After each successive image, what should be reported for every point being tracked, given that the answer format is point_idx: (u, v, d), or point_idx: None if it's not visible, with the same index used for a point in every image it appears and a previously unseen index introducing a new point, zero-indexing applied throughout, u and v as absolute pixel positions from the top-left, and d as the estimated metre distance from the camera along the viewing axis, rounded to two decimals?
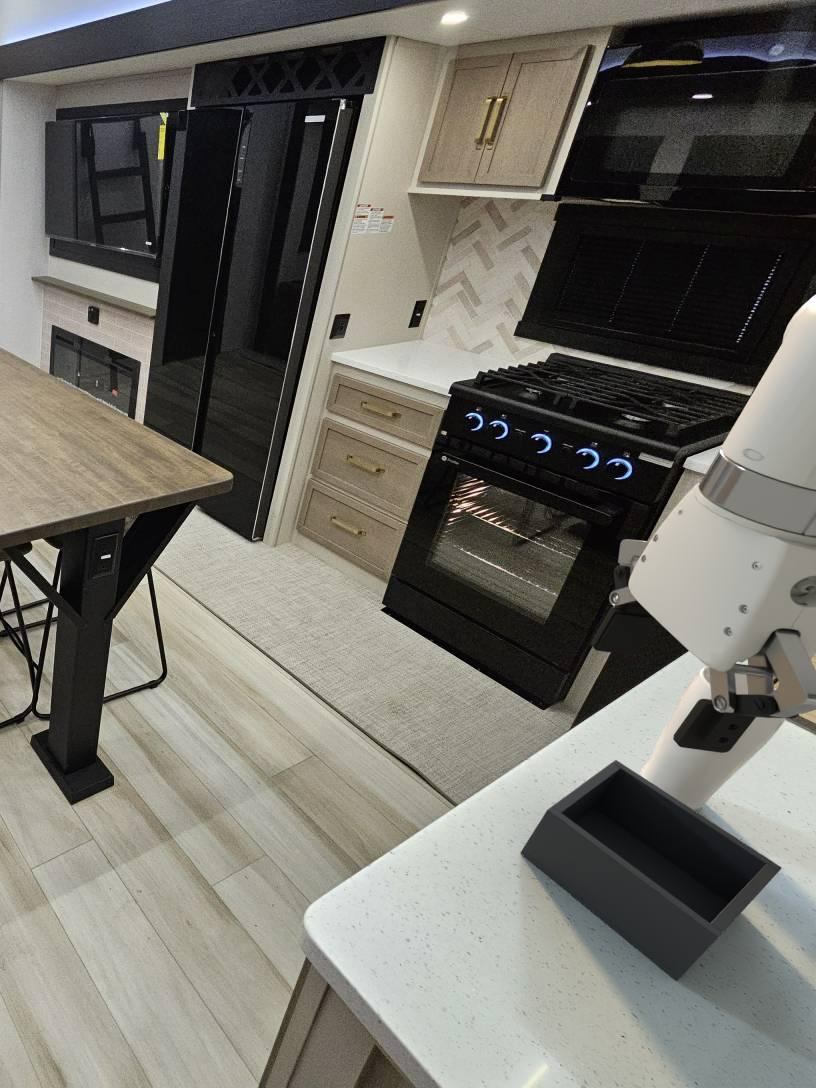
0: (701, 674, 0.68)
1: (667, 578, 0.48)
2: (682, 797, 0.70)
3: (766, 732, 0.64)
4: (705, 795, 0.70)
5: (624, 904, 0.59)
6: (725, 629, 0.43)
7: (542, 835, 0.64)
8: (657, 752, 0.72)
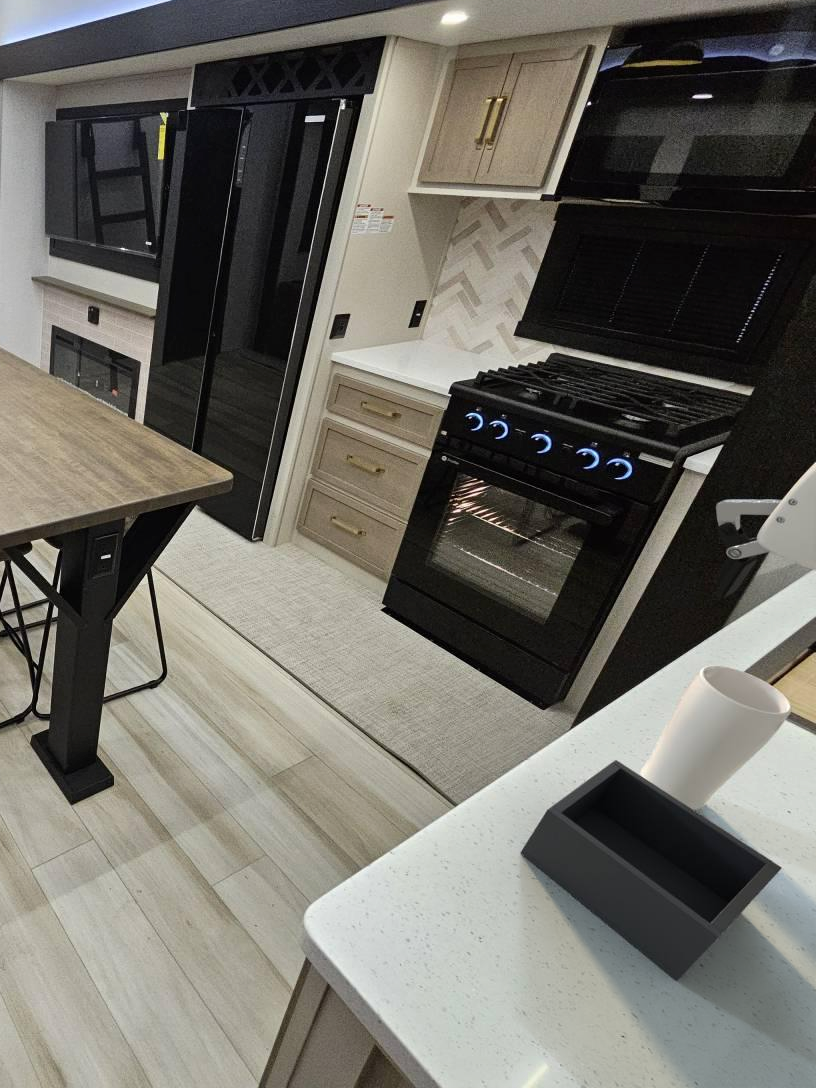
0: (701, 674, 0.68)
1: None
2: (682, 797, 0.70)
3: (766, 732, 0.64)
4: (705, 795, 0.70)
5: (624, 904, 0.59)
6: None
7: (542, 835, 0.64)
8: (657, 752, 0.72)
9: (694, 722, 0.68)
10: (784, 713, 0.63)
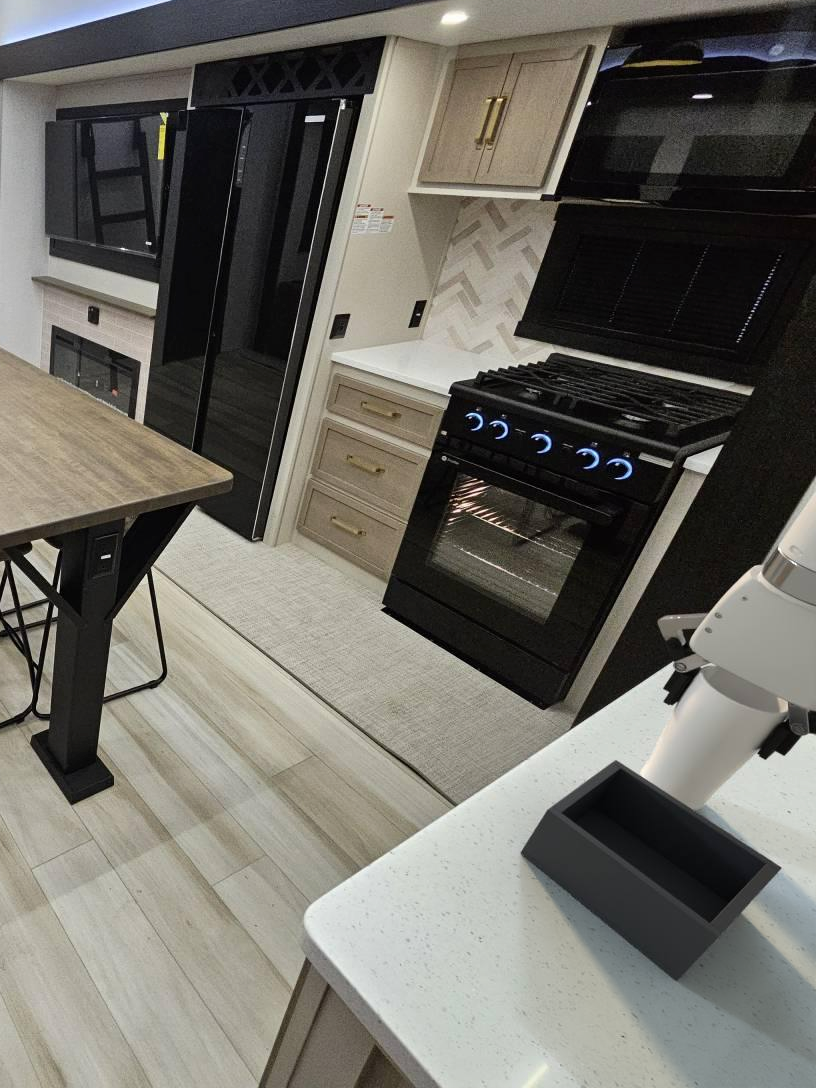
0: (701, 674, 0.68)
1: (746, 647, 0.64)
2: (682, 797, 0.70)
3: (766, 732, 0.64)
4: (705, 795, 0.70)
5: (624, 904, 0.59)
6: None
7: (542, 835, 0.64)
8: (657, 752, 0.72)
9: (694, 722, 0.68)
10: (784, 713, 0.63)
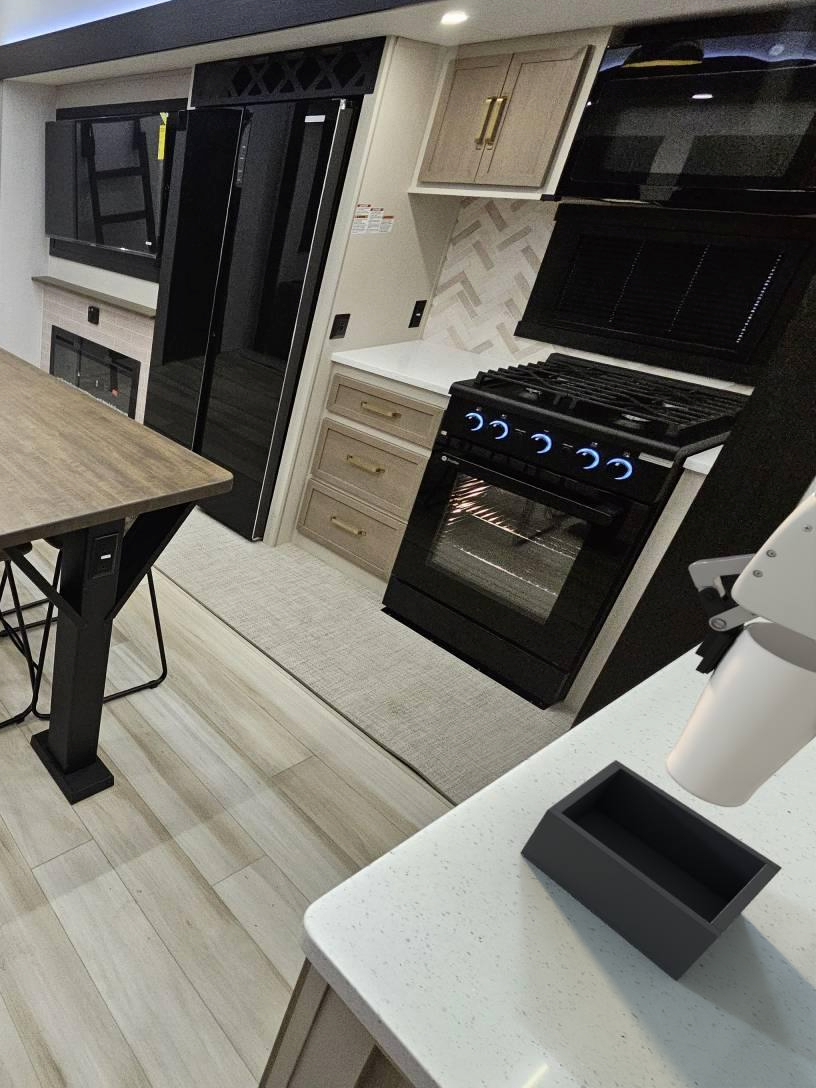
0: (746, 632, 0.53)
1: (809, 593, 0.49)
2: (720, 791, 0.55)
3: None
4: (750, 788, 0.54)
5: (624, 904, 0.59)
6: None
7: (542, 835, 0.64)
8: (687, 734, 0.57)
9: (737, 694, 0.52)
10: None
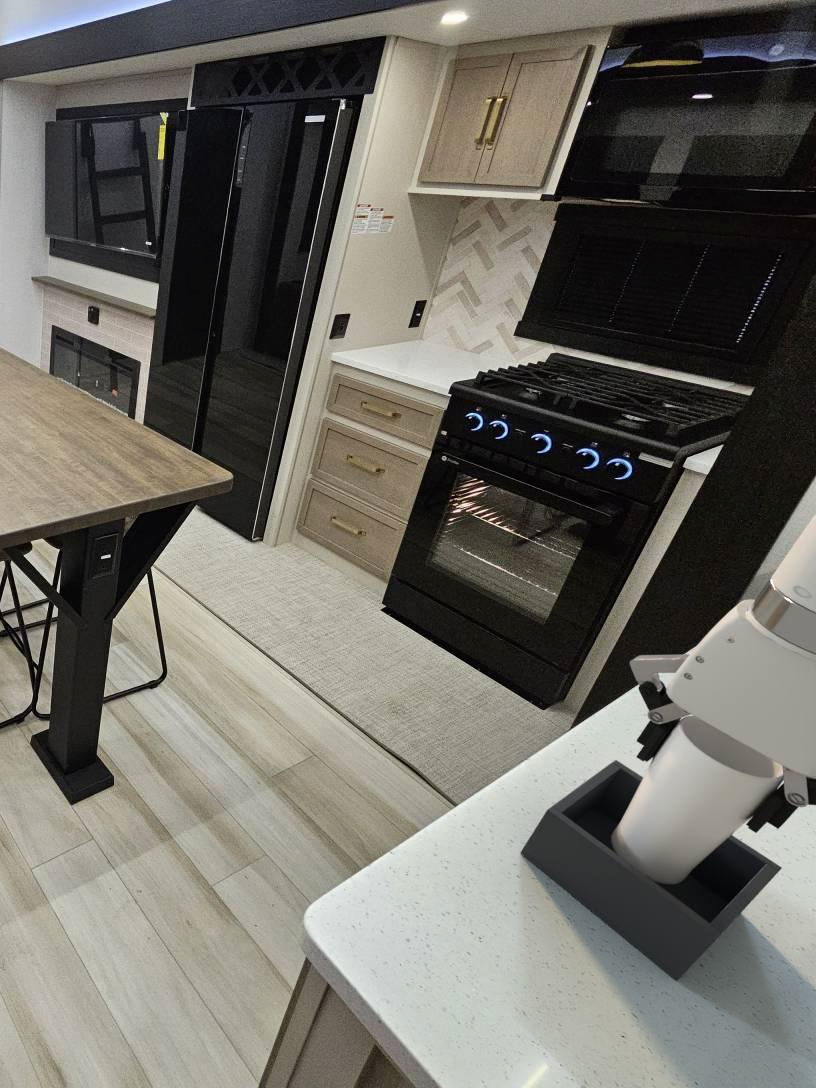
0: (680, 727, 0.57)
1: (732, 699, 0.53)
2: (659, 870, 0.60)
3: (756, 800, 0.53)
4: (685, 868, 0.59)
5: (624, 904, 0.59)
6: None
7: (542, 835, 0.64)
8: (630, 815, 0.61)
9: (672, 784, 0.57)
10: (778, 778, 0.53)
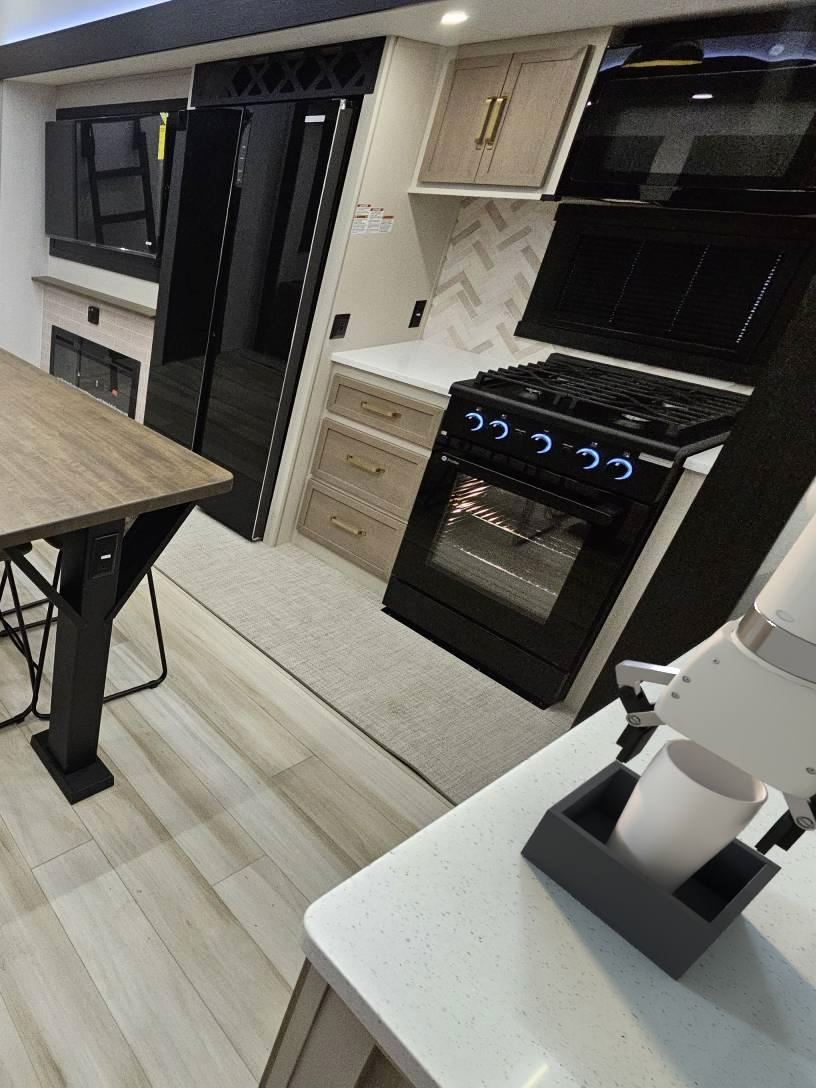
0: (664, 750, 0.58)
1: (718, 718, 0.54)
2: None
3: (738, 823, 0.55)
4: (670, 888, 0.60)
5: (624, 904, 0.59)
6: (807, 768, 0.50)
7: (542, 835, 0.64)
8: (616, 835, 0.63)
9: (656, 806, 0.58)
10: (759, 802, 0.54)
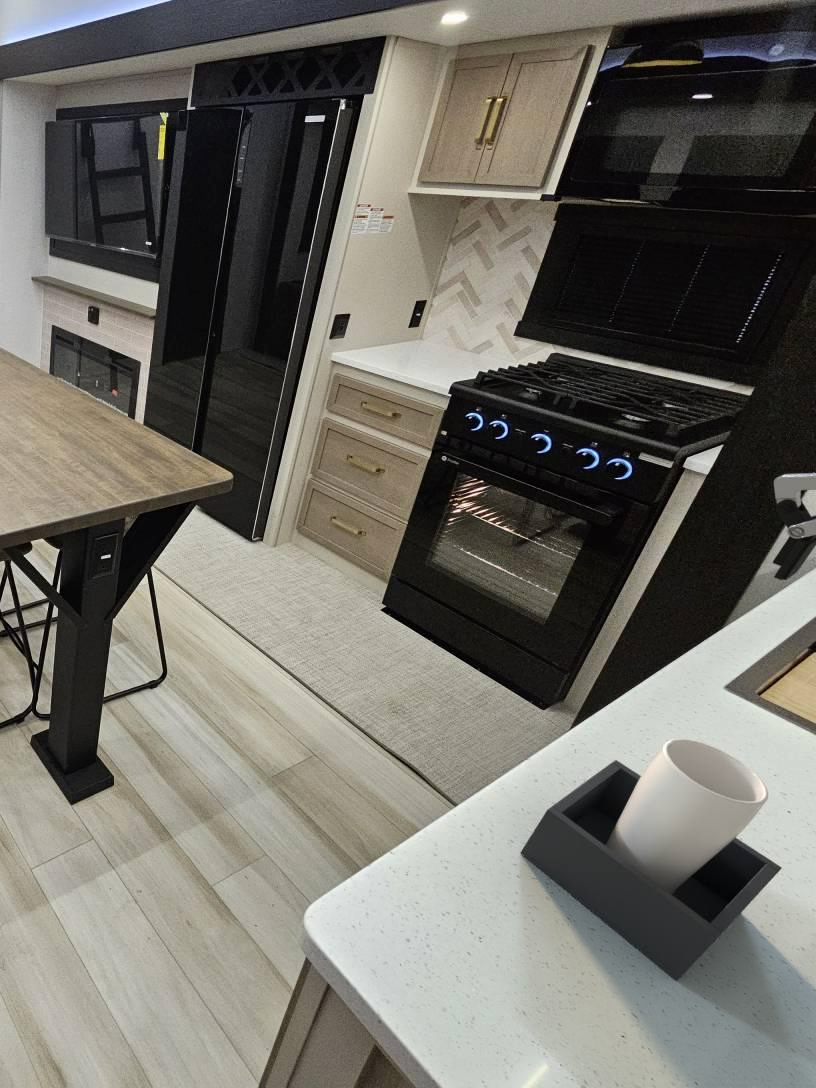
0: (664, 750, 0.58)
1: None
2: None
3: (738, 823, 0.55)
4: (670, 888, 0.60)
5: (624, 904, 0.59)
6: None
7: (542, 835, 0.64)
8: (616, 835, 0.63)
9: (656, 806, 0.58)
10: (759, 802, 0.54)
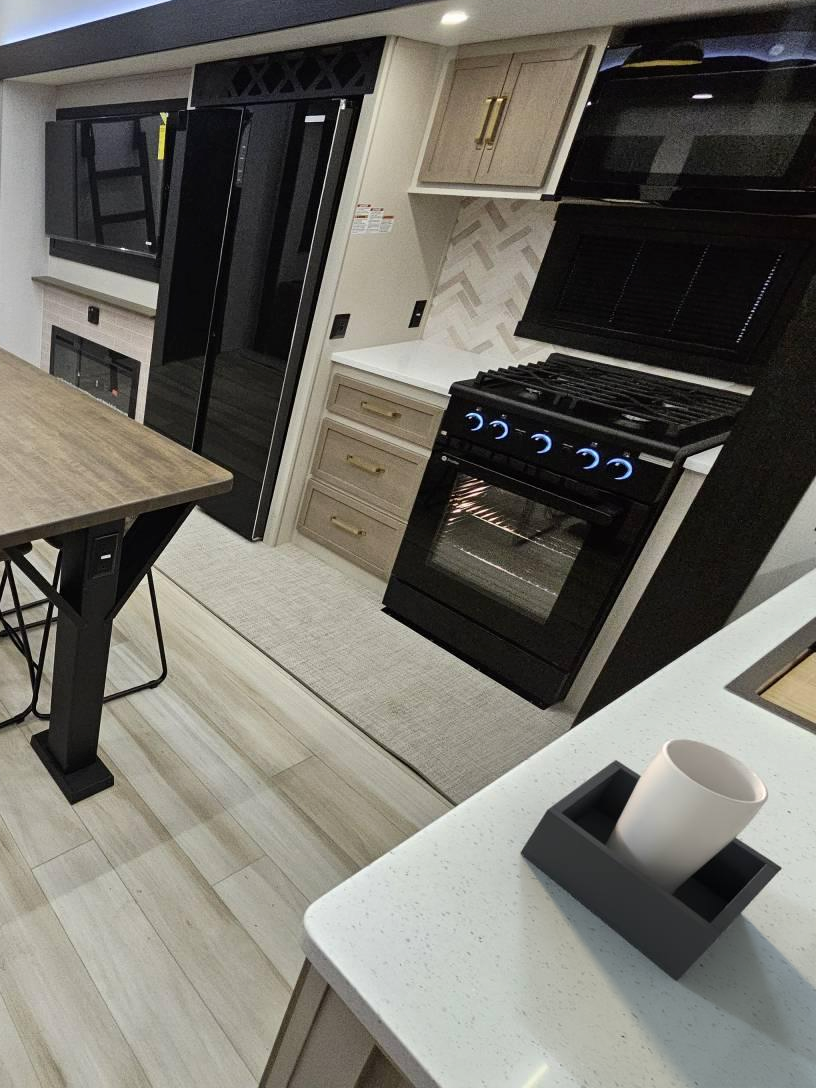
0: (664, 750, 0.58)
1: None
2: None
3: (738, 823, 0.55)
4: (670, 888, 0.60)
5: (624, 904, 0.59)
6: None
7: (542, 835, 0.64)
8: (616, 835, 0.63)
9: (656, 806, 0.58)
10: (759, 802, 0.54)
